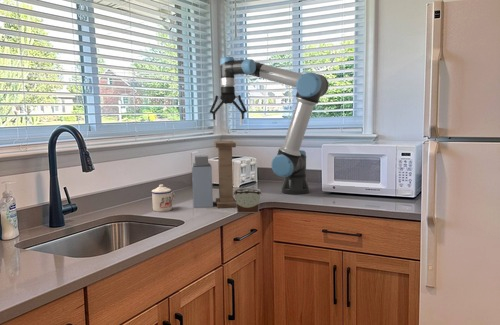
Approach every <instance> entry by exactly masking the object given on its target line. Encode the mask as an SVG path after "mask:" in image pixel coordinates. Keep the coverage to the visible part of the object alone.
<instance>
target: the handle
mask: <svg viewBox="0 0 500 325" xmlns="http://www.w3.org/2000/svg"><path fill="white" fill-rule="evenodd" d="M194 163H195V166H199V165H208V163H209V156H208V154H206V155H205V154H204V155H203V154H202V155H194Z"/></svg>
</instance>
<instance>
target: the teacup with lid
mask: <svg viewBox="0 0 500 325" xmlns="http://www.w3.org/2000/svg"><path fill="white" fill-rule="evenodd" d="M151 195H152V196H151V197H152V198H151V199H152V200H151V201H152V210H153V212H159V213H160V212H168V211H171V210H172V209H173V206H172V204H173V202H174V201H175V199H176V196H175V195H176V194H175V192H173V191H172V189H171V188H168V187H166V186H164V184H159V185H158V187H156V188H154V189H152V190H151Z"/></svg>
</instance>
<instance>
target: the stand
mask: <svg viewBox="0 0 500 325" xmlns="http://www.w3.org/2000/svg"><path fill="white" fill-rule="evenodd" d="M213 145H214V147H215V148H216V149H217V158H218V159H217V160H218V162H217V163H218V198H217V197H216V198H215V204H216V207H217V209H229V208H230V209H231V208H237V206H236V198H235V197H234V180H233V178H234V177H233V174H234V173H233V171H234V170H233V148H236V147H237V146H236V145H237V144H236V142H235V141H233V140H225V141H224V140H222V141H221V140H220V141H213Z"/></svg>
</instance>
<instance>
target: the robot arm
mask: <svg viewBox="0 0 500 325" xmlns="http://www.w3.org/2000/svg"><path fill="white" fill-rule="evenodd" d="M219 60H220V61H219V62H220V64H219V68H220V95H215V96H214V101H213V103H212V105H211V108H210V109H209V113H210V114H212V120H213V121H214V123H215V127H217V126H218V114H217V112H218V111H219V110H220V108H221V107H222V105H223V104H225V105H226V104H233V105H234V107H235V108H236V109H237V110H238V111H239V112H240V113H239V125H240V126H241V127H242V126H243V120H244V118H245V113H247V112H248V110H247V107H246V106H245V104H244V101H243V100H242V98H241V97H242V96H241V94H238V95H236V92H235V91H236V90H235V89H236V88H235V84H236V83H235V76H236V75H237V76H238V75H246V76H253V77H256V78H259V79H260V78H261V79H265V80H269V81H272V82H274V83H279V84H283V85H286V86H289V87H293V88H296V93H295V99H296V104H295V107H294V110H293V113H292V116H291V119H290V123H289V125H288V129H287V132H286V135H285V138H284V141H283V145H282V146H279V148H278V151H277V153H276V155H275V156H274V157H273V159H272V160H271V169H272V171H273V173H274V174H275V175H276V176H278V177H281V178H284V179H283V183H282V186H281V192H282V193H283V194H287V195H303V194H308V193H310V186H309V183H308V180H307V154H306V153H307V152H306V151H305V150H303V149H301V146H302V143H303V140H304V137H305V134H306V131H307V128H308V125H309V122H310V119H311V116H312V113H313V109H314V106H316V105H318V104H319V101H320V99H321V97H323V96H324V95H325V94H327V92H328V90H329V87H330V86H329V81H328V78H327V77H325V76H324V75H322V74H319V73H315V72H305V73H301V72H300V73H299V72H296V71H293V70H292V71H291V70H288V69H284V68H280V67H276V66H272V65H268V64H264V63H261V62H259V61H258V62H257V61H255V60H253V59H251V58H250V59H249V58H245V59H237V60H235V58H234V57H233V56H222V57H220V59H219ZM218 100H221V101H220V103H218ZM235 100H238V102H239V104H240V105H239V104H238V103H237V102H236V101H235ZM217 103H218V105H217V106H216V104H217ZM215 106H216V108H215ZM214 108H215V109H214Z"/></svg>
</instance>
